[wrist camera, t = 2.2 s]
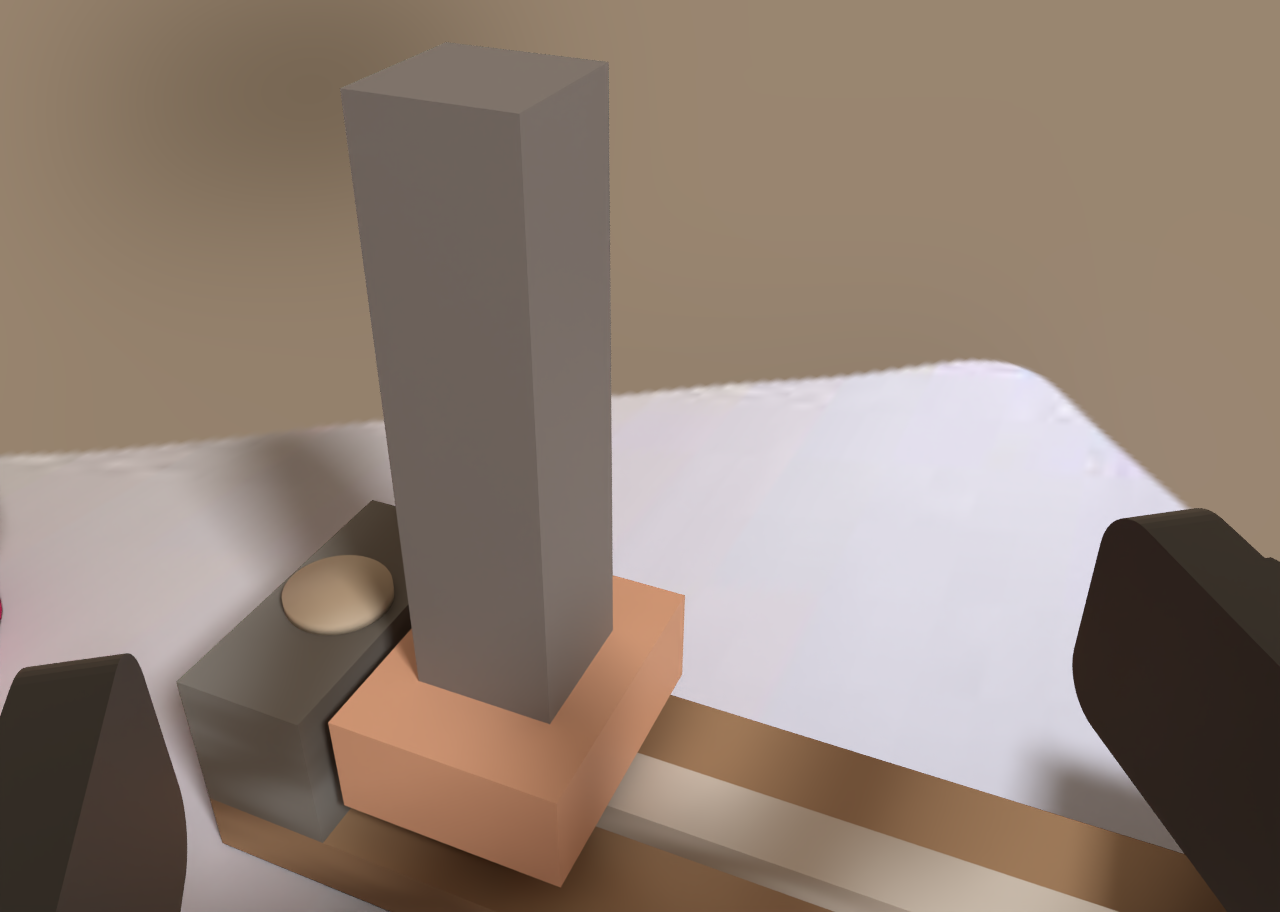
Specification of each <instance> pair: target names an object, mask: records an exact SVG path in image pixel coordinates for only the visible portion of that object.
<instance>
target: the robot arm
mask: <svg viewBox="0 0 1280 912" xmlns="http://www.w3.org/2000/svg"><path fill="white" fill-rule="evenodd" d="M1072 667H1073V679H1074V685H1075V689H1076V693H1077V697H1078V700H1079V703H1080V705H1081V708H1082V710H1083V712H1084V714H1085V716H1086V718H1087V720H1088V721H1089V723H1090V725H1091V726H1092V728H1093V729H1094V730H1095V732H1096V733H1097V734H1098V736H1099V737H1100V739H1101V740H1102V741H1103V743H1104V744H1105V745H1106V747H1107V748H1108V749H1109V751H1110V752H1111V754H1112V755H1113V756H1114V758H1115V759H1116V760H1117V762H1118V763H1119V765H1120V766H1121V767H1122V769H1123V770H1124V771H1125V773H1126V774H1127V775H1128V777H1129V778H1130V780H1131V781H1132V782H1133V784H1134V785H1135V786H1136V788H1137V789H1138V791H1139V792H1140V793H1141V795H1142V796H1143V797H1144V799H1145V800H1146V801H1147V803H1148V804H1149V806H1150V807H1151V808H1152V810H1153V811H1154V812H1155V814H1156V815H1157V817H1158V818H1159V819H1160V821H1161V822H1162V823H1163V825H1164V826H1165V827H1166V829H1167V830H1168V832H1169V833H1170V834H1171V836H1172V837H1173V838H1174V840H1175V841H1176V843H1177V844H1178V845H1179V847H1180V848H1181V849H1182V851H1183V852H1184V853H1185V855H1186V856H1187V858H1188V859H1189V860H1190V862H1191V863H1192V864H1193V866H1194V867H1195V869H1196V870H1197V871H1198V873H1199V874H1200V875H1201V877H1202V878H1203V879H1204V881H1205V882H1206V884H1207V885H1208V886H1209V888H1210V889H1211V890H1212V892H1213V893H1214V895H1215V896H1216V897H1217V899H1218V900H1219V901H1220V903H1221V904H1222V905H1223V907H1224V908H1225V910H1226V911H1227V912H1280V562H1279V561H1277V560H1275V559H1273V558H1271V557H1270V558H1264V557H1263V556H1262V555H1261V554H1260V553H1259V552H1258V551H1256V550H1255V549H1254V548H1253V547H1252V546H1251V545H1250V544H1249V543H1248V542H1247V541H1246V540H1245V539H1243V538H1242V537H1241V536H1240V535H1239V534H1238V533H1237V532H1236V531H1235V530H1234V529H1233V528H1232V527H1230V526H1229V525H1228V524H1227V523H1226V522H1225V521H1224V520H1223V519H1222V518H1220V517H1219V516H1218V515H1216V514H1215V513H1213V512H1211V511H1209V510H1206V509H1202V508H1200V509H1199V508H1195V509H1188V510H1180V511H1173V512H1166V513H1159V514H1152V515H1144V516H1137V517H1130V518H1123V519H1119V520H1116V521H1114V522H1113V523H1112V524H1110V526H1109V527H1108V528H1107V529H1106V531H1105V533H1104V535H1103V537H1102V541H1101V544H1100V548H1099V552H1098V556H1097V560H1096V564H1095V568H1094V572H1093V576H1092V580H1091V584H1090V588H1089V592H1088V596H1087V600H1086V604H1085V608H1084V612H1083V616H1082V620H1081V624H1080V628H1079V632H1078V636H1077V640H1076V644H1075V648H1074V653H1073V663H1072ZM186 866H187V831H186V820H185V812H184V805H183V800H182V795H181V792H180V788H179V785H178V782H177V778H176V775H175V772H174V769H173V766H172V763H171V760H170V757H169V754H168V750H167V747H166V744H165V741H164V738H163V735H162V732H161V729H160V725H159V722H158V719H157V716H156V713H155V710H154V707H153V704H152V701H151V697H150V694H149V691H148V688H147V685H146V682H145V679H144V676H143V673H142V670H141V668H140V666H139V664H138V662H137V660H136V659H135V657H134V656H132V655H131V654H128V653H126V654H119V655H112V656H104V657H97V658H90V659H83V660H75V661H68V662H61V663H54V664H47V665H39V666H32V667H26V668H23V669H21V670H20V671H19V672H18V673H17V675H16V676H15V678H14V680H13V682H12V685H11V687H10V690H9V693H8V696H7V699H6V701H5V704H4V707H3V710H2V713H1V716H0V912H180V911H181V904H182V897H183V890H184V883H185V876H186Z"/></svg>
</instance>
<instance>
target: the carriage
mask: <svg viewBox="0 0 1280 912" xmlns="http://www.w3.org/2000/svg"><path fill="white" fill-rule="evenodd" d="M608 66H609V65H608V62H604V61H595V60H587V59H579V58H571V57H563V56H554V55H546V54H538V53H530V52H522V51H513V50H504V49H497V48H489V47H480V46H472V45H464V44H456V43H447V42H446V43H443V44H441V45H439V46H436V47H434V48H432V49H429V50H427V51H425V52H423V53H420V54H418V55H416V56H413V57H411V58H409V59H407V60H404V61H402V62H400V63H398V64H395V65H393V66H390V67H388V68H386V69H384V70H381V71H379V72H377V73H374V74H372V75H370V76H368V77H365V78H363V79H361V80H359V81H356V82H354V83H352V84H349V85H347V86H345V87H342V88H340V90H341V98H342V105H343V113H344V120H345V127H346V135H347V143H348V150H349V158H350V165H351V173H352V181H353V188H354V195H355V203H356V211H357V218H358V226H359V234H360V241H361V249H362V256H363V264H364V271H365V279H366V286H367V294H368V302H369V309H370V317H371V323H372V331H373V339H374V347H375V354H376V361H377V370H378V377H379V385H380V392H381V399H382V407H383V414H384V422H385V430H386V438H387V445H388V453H389V460H390V468H391V475H392V483H393V490H394V498H395V506H396V513H397V521H398V528H399V536H400V543H401V551H402V558H403V566H404V574H405V581H406V589H407V596H408V604H409V611H410V619H411V626H412V629H411V630H410V631H409V632H408V633H407V634H406V635H405V637H404V638H403V639H402V640H401V641H400V642H399V643H398V644H397V646H396V647H395V648H394V649H393V650H392V651H391V652H390V653H389V655H388V656H387V657H386V658H385V659H384V660H383V661H382V662H381V664H380V665H379V666H378V667H377V668H376V669H375V670H374V672H373V673H372V674H371V675H370V676H369V677H368V678H367V679H366V681H365V682H364V683H363V684H362V685H361V686H360V687H359V688H358V690H357V691H356V692H355V693H354V694H353V695H352V696H351V697H350V699H349V700H348V701H347V702H346V703H345V704H344V705H343V706H342V708H341V709H340V710H339V711H338V712H337V713H336V714H335V715H334V717H333V718H332V719H331V720H330V721H329V722H328V725H329V730H330V735H331V740H332V745H333V750H334V755H335V760H336V766H337V771H338V776H339V781H340V786H341V791H342V796H343V801H344V805H345V806H348V807H350V808H353V809H356V810H358V811H361V812H363V813H366V814H369V815H371V816H374V817H377V818H379V819H382V820H384V821H387V822H390V823H392V824H395V825H398V826H400V827H403V828H405V829H408V830H411V831H413V832H416V833H419V834H421V835H424V836H426V837H429V838H432V839H434V840H437V841H440V842H442V843H445V844H448V845H450V846H453V847H455V848H458V849H461V850H463V851H466V852H469V853H471V854H474V855H476V856H479V857H482V858H484V859H487V860H490V861H492V862H495V863H497V864H500V865H503V866H505V867H508V868H511V869H513V870H516V871H518V872H521V873H524V874H526V875H529V876H532V877H534V878H537V879H539V880H542V881H545V882H547V883H550V884H553V885H555V886H558V887H560V888H561V886H562V884H563V883H564V881H565V879H566V877H567V876H568V874H569V872H570V870H571V869H572V867H573V865H574V863H575V861H576V860H577V858H578V856H579V854H580V853H581V851H582V849H583V847H584V846H585V844H586V842H587V840H588V839H589V837H590V835H591V833H592V832H593V830H594V828H595V826H596V825H597V823H598V821H599V819H600V818H601V816H602V814H603V812H604V810H605V809H606V807H607V805H608V803H609V802H610V800H611V798H612V796H613V795H614V793H615V791H616V789H617V788H618V786H619V784H620V782H621V781H622V779H623V777H624V775H625V774H626V772H627V770H628V768H629V767H630V765H631V763H632V761H633V759H634V758H635V756H636V754H637V752H638V751H639V749H640V747H641V745H642V744H643V742H644V740H645V738H646V737H647V735H648V733H649V731H650V730H651V728H652V726H653V724H654V723H655V721H656V719H657V717H658V716H659V714H660V712H661V710H662V708H663V707H664V705H665V703H666V701H667V700H668V698H669V696H670V694H671V693H672V691H673V689H674V687H675V686H676V684H677V682H678V680H679V679H680V677H681V675H682V661H683V633H684V605H685V595H681V594H678V593H674V592H671V591H667V590H663V589H660V588H656V587H653V586H649V585H646V584H642V583H638V582H635V581H631V580H628V579H624V578H620V577H617V576H613V572H612V445H611V329H610V328H611V327H610V326H611V325H610V324H611V320H610V319H611V318H610V196H609V195H610V191H609V79H608V78H609V71H608V70H609V67H608Z"/></svg>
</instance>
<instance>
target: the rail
mask: <svg viewBox="0 0 1280 912" xmlns="http://www.w3.org/2000/svg"><path fill="white" fill-rule="evenodd" d="M411 629H412V626H411V619H410V611H409V604H408V596H407V589H406V581H405V574H404V566H403V558H402V551H401V543H400V536H399V528H398V521H397V513H396V506H392V505H389V504H385V503H381V502H378V501H374V500H372V501H371V502H370V503H369V504H368V505H367V506H365V507H364V508H363V509H362V510H361V511H360V512H359V513H358V514H357V515H356V516H355V517H354V518H352V519H351V520H350V521H349V522H348V523H347V524H346V525H345V526H344V527H343V528H342V529H341V530H340V531H338V532H337V533H336V534H335V535H334V536H333V537H332V538H331V539H330V540H329V541H328V542H327V543H326V544H324V545H323V546H322V547H321V548H320V549H319V550H318V551H317V552H316V553H315V554H314V555H313V556H312V557H310V558H309V559H308V560H307V561H306V562H305V563H304V564H303V565H302V566H301V567H300V568H299V569H298V570H296V571H295V572H294V573H293V574H292V575H291V576H290V577H289V578H288V579H287V580H286V581H285V582H284V583H282V584H281V585H280V586H279V587H278V588H277V589H276V590H275V591H274V592H273V593H272V594H271V595H270V596H268V597H267V598H266V599H265V600H264V601H263V602H262V603H261V604H260V605H259V606H258V607H257V608H256V609H254V610H253V611H252V612H251V613H250V614H249V615H248V616H247V617H246V618H245V619H244V620H243V621H242V622H240V623H239V624H238V625H237V626H236V627H235V628H234V629H233V630H232V631H231V632H230V633H229V634H228V635H226V636H225V637H224V638H223V639H222V640H221V641H220V642H219V643H218V644H217V645H216V646H215V647H214V648H212V649H211V650H210V651H209V652H208V653H207V654H206V655H205V656H204V657H203V658H202V659H201V660H199V661H198V662H197V663H196V664H195V665H194V666H193V667H192V668H191V669H190V670H189V671H188V672H187V673H185V674H184V675H183V676H182V677H181V678H180V679H179V680H178V681H177V686H178V689H179V693H180V696H181V700H182V703H183V707H184V710H185V714H186V717H187V721H188V724H189V728H190V731H191V734H192V738H193V741H194V745H195V748H196V752H197V755H198V759H199V762H200V766H201V769H202V773H203V776H204V780H205V783H206V787H207V790H208V794H209V797H210V801H211V804H212V808H213V811H214V814H215V818H216V821H217V825H218V828H219V832H220V835H221V839H222V842H223V843H224V844H227V845H229V846H231V847H234V848H236V849H239V850H241V851H244V852H246V853H249V854H251V855H253V856H256V857H258V858H261V859H263V860H266V861H268V862H270V863H273V864H275V865H278V866H280V867H283V868H285V869H288V870H290V871H292V872H295V873H297V874H300V875H302V876H305V877H307V878H310V879H312V880H314V881H317V882H319V883H322V884H324V885H327V886H329V887H331V888H334V889H336V890H339V891H341V892H344V893H346V894H349V895H351V896H353V897H356V898H358V899H361V900H363V901H366V902H368V903H371V904H373V905H375V906H378V907H380V908H383V909H385V910H388V911H390V912H1227V911H1226V910H1225V908H1224V907H1223V905H1222V904H1221V903H1220V901H1219V900H1218V899H1217V897H1216V896H1215V895H1214V893H1213V892H1212V890H1211V889H1210V888H1209V886H1208V885H1207V884H1206V882H1205V881H1204V879H1203V878H1202V877H1201V875H1200V874H1199V873H1198V871H1197V870H1196V869H1195V867H1194V866H1193V864H1192V863H1191V862H1190V860H1189V859H1188V858H1187V856H1186V855H1185V854H1182V853H1179V852H1176V851H1173V850H1169V849H1166V848H1163V847H1160V846H1156V845H1153V844H1150V843H1147V842H1143V841H1140V840H1137V839H1134V838H1131V837H1127V836H1124V835H1121V834H1118V833H1114V832H1111V831H1108V830H1105V829H1102V828H1098V827H1095V826H1092V825H1089V824H1085V823H1082V822H1079V821H1076V820H1073V819H1069V818H1066V817H1063V816H1060V815H1056V814H1053V813H1050V812H1047V811H1043V810H1040V809H1037V808H1034V807H1031V806H1027V805H1024V804H1021V803H1018V802H1014V801H1011V800H1008V799H1005V798H1002V797H998V796H995V795H992V794H989V793H985V792H982V791H979V790H976V789H972V788H969V787H966V786H963V785H960V784H956V783H953V782H950V781H947V780H943V779H940V778H937V777H934V776H931V775H927V774H924V773H921V772H918V771H914V770H911V769H908V768H905V767H902V766H898V765H895V764H892V763H889V762H885V761H882V760H879V759H876V758H872V757H869V756H866V755H863V754H860V753H856V752H853V751H850V750H847V749H843V748H840V747H837V746H834V745H831V744H827V743H824V742H821V741H818V740H814V739H811V738H808V737H805V736H802V735H798V734H795V733H792V732H789V731H785V730H782V729H779V728H776V727H772V726H769V725H766V724H763V723H760V722H756V721H753V720H750V719H747V718H743V717H740V716H737V715H734V714H731V713H727V712H724V711H721V710H718V709H714V708H711V707H708V706H705V705H701V704H698V703H695V702H692V701H689V700H685V699H682V698H679V697H676V696H672V695H670V696H669V698H668V700H667V701H666V703H665V705H664V707H663V708H662V710H661V712H660V714H659V716H658V717H657V719H656V721H655V723H654V724H653V726H652V728H651V730H650V731H649V733H648V735H647V737H646V738H645V740H644V742H643V744H642V745H641V747H640V749H639V751H638V752H637V754H636V756H635V758H634V759H633V761H632V763H631V765H630V767H629V768H628V770H627V772H626V774H625V775H624V777H623V779H622V781H621V782H620V784H619V786H618V788H617V789H616V791H615V793H614V795H613V796H612V798H611V800H610V802H609V803H608V805H607V807H606V809H605V810H604V812H603V814H602V816H601V818H600V819H599V821H598V823H597V825H596V826H595V828H594V830H593V832H592V833H591V835H590V837H589V839H588V840H587V842H586V844H585V846H584V847H583V849H582V851H581V853H580V854H579V856H578V858H577V860H576V861H575V863H574V865H573V867H572V869H571V870H570V872H569V874H568V876H567V877H566V879H565V881H564V883H563V884H562V886H561V888H560V887H558V886H555V885H553V884H550V883H547V882H545V881H542V880H539V879H537V878H534V877H532V876H529V875H526V874H524V873H521V872H518V871H516V870H513V869H511V868H508V867H505V866H503V865H500V864H497V863H495V862H492V861H490V860H487V859H484V858H482V857H479V856H476V855H474V854H471V853H469V852H466V851H463V850H461V849H458V848H455V847H453V846H450V845H448V844H445V843H442V842H440V841H437V840H434V839H432V838H429V837H426V836H424V835H421V834H419V833H416V832H413V831H411V830H408V829H405V828H403V827H400V826H398V825H395V824H392V823H390V822H387V821H384V820H382V819H379V818H377V817H374V816H371V815H369V814H366V813H363V812H361V811H358V810H356V809H353V808H350V807H348V806H345V805H344V801H343V796H342V791H341V786H340V781H339V776H338V771H337V766H336V760H335V755H334V750H333V745H332V740H331V735H330V730H329V725H328V722H329V721H330V720H331V719H332V718H333V717H334V715H335V714H336V713H337V712H338V711H339V710H340V709H341V708H342V706H343V705H344V704H345V703H346V702H347V701H348V700H349V699H350V697H351V696H352V695H353V694H354V693H355V692H356V691H357V690H358V688H359V687H360V686H361V685H362V684H363V683H364V682H365V681H366V679H367V678H368V677H369V676H370V675H371V674H372V673H373V672H374V670H375V669H376V668H377V667H378V666H379V665H380V664H381V662H382V661H383V660H384V659H385V658H386V657H387V656H388V655H389V653H390V652H391V651H392V650H393V649H394V648H395V647H396V646H397V644H398V643H399V642H400V641H401V640H402V639H403V638H404V637H405V635H406V634H407V633H408V632H409V631H410V630H411Z"/></svg>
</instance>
